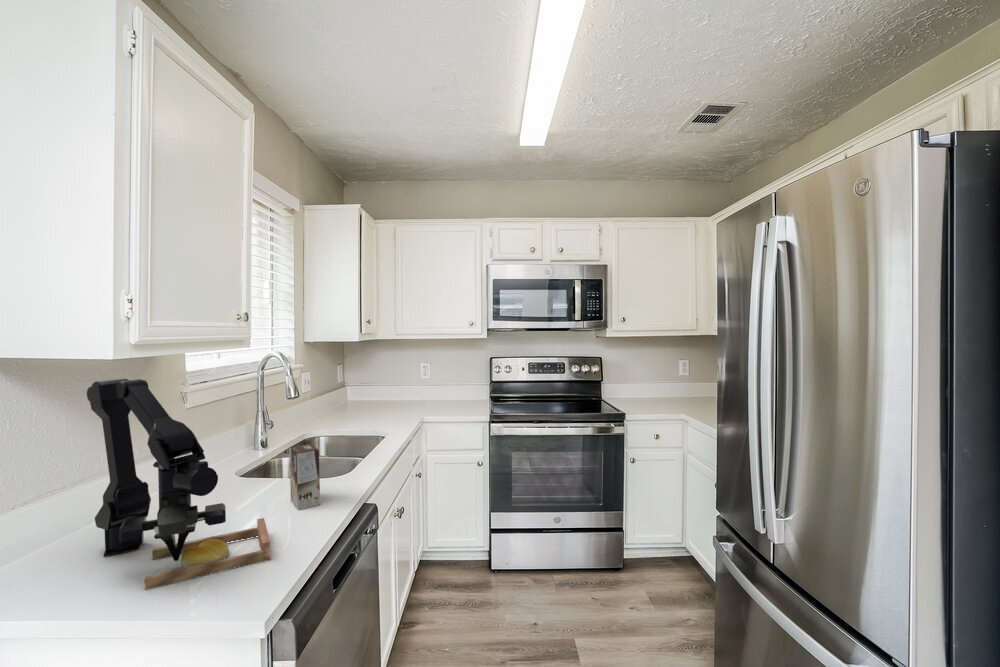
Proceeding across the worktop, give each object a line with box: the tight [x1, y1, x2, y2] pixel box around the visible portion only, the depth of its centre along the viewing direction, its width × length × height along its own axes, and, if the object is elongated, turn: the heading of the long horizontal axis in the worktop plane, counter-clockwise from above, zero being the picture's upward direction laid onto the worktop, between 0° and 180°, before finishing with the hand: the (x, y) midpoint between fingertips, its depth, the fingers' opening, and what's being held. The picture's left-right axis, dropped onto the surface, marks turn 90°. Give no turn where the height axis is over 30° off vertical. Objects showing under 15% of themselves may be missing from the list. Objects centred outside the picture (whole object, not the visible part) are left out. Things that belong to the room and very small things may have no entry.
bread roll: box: [179, 539, 230, 568], centre depth 106 cm, size 8×9×4 cm
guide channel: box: [144, 517, 271, 590], centre depth 107 cm, size 22×15×4 cm
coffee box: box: [288, 443, 321, 511], centre depth 140 cm, size 9×6×16 cm
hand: (176, 560), depth 104 cm, fingers closed
